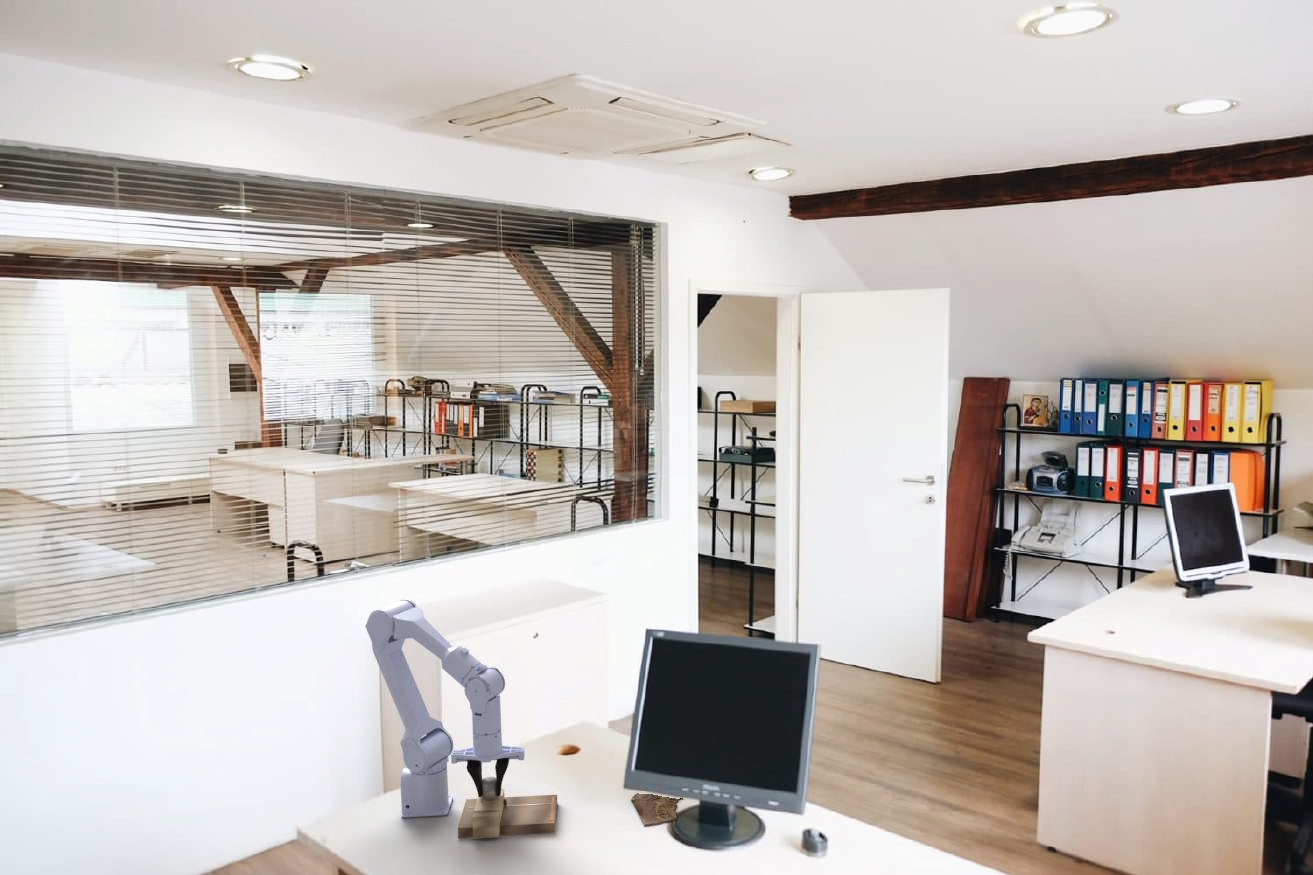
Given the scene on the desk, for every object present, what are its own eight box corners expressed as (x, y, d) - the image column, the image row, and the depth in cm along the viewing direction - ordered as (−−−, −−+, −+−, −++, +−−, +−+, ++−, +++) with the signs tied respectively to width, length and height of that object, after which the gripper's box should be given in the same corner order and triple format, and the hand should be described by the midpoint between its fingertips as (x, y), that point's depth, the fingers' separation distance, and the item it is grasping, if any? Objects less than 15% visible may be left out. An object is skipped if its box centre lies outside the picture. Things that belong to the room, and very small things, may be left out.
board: (458, 837, 188) (457, 827, 187) (466, 808, 200) (466, 798, 199) (554, 832, 189) (554, 822, 188) (557, 803, 201) (557, 794, 200)
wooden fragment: (673, 830, 189) (673, 825, 189) (619, 826, 191) (619, 821, 191) (693, 773, 214) (693, 768, 214) (646, 770, 216) (645, 765, 216)
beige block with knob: (473, 838, 186) (471, 799, 185) (480, 809, 197) (479, 772, 196) (502, 836, 186) (500, 797, 185) (507, 808, 197) (506, 771, 197)
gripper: (447, 739, 188) (450, 805, 189) (521, 736, 188) (524, 801, 190) (453, 725, 195) (456, 788, 196) (524, 722, 195) (526, 785, 197)
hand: (489, 794), depth 193 cm, fingers closed on beige block with knob, 3 cm apart
